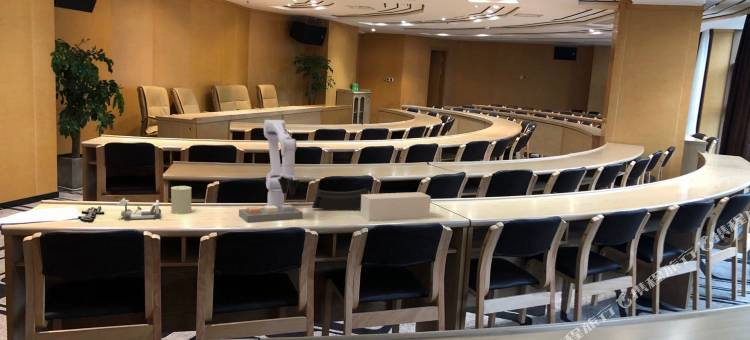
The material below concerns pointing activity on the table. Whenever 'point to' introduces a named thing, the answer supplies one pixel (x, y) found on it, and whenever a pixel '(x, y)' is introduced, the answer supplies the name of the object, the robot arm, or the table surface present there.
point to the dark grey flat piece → (90, 214)
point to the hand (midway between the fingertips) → (288, 194)
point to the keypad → (270, 215)
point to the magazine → (339, 200)
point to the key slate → (286, 207)
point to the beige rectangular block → (395, 206)
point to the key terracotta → (253, 210)
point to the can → (181, 199)
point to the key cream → (270, 209)
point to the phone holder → (140, 214)
